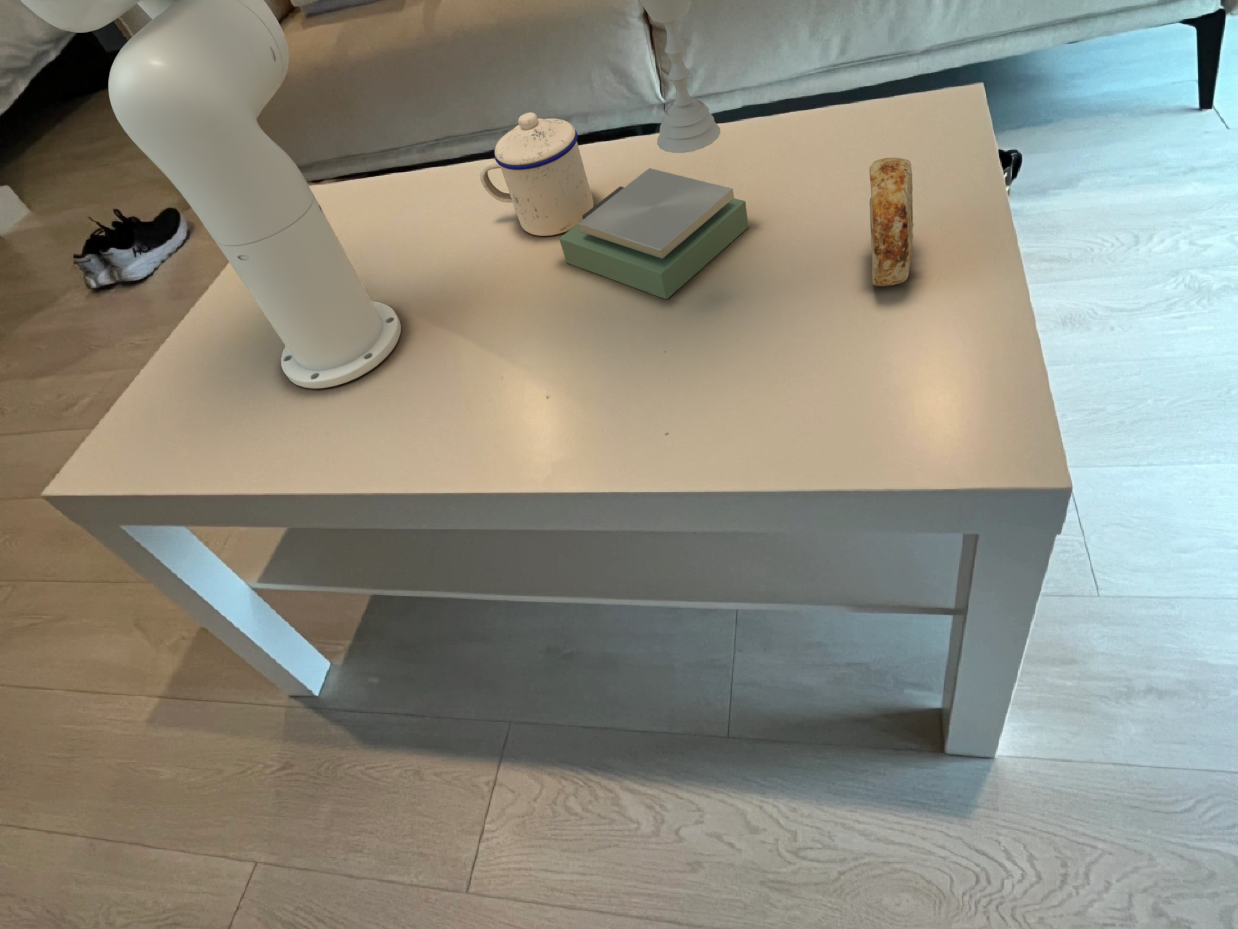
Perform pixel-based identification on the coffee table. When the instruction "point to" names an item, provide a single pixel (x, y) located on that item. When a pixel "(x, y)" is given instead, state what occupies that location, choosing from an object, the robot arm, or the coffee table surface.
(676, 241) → the pan
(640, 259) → the scale
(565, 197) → the teacup with lid
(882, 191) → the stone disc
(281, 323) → the robot arm
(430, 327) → the coffee table surface
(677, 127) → the chalice
